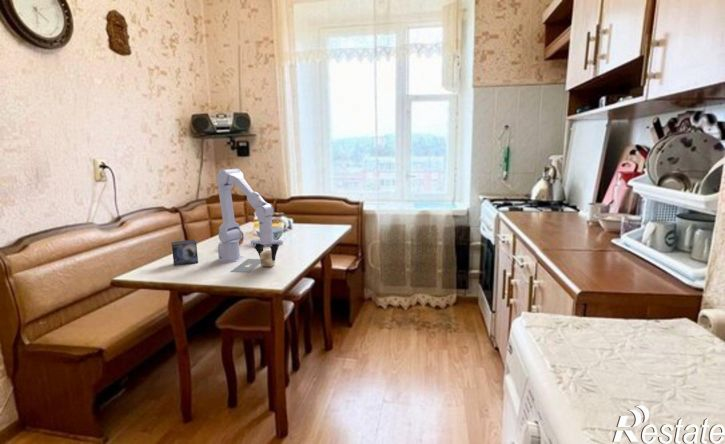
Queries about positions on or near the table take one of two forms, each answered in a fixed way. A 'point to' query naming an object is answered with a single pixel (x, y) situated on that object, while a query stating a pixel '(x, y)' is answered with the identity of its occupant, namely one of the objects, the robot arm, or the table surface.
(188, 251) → the small box
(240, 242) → the tin
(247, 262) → the grey plate
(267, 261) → the maple block
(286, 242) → the table surface
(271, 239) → the robot arm
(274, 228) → the chinaware
